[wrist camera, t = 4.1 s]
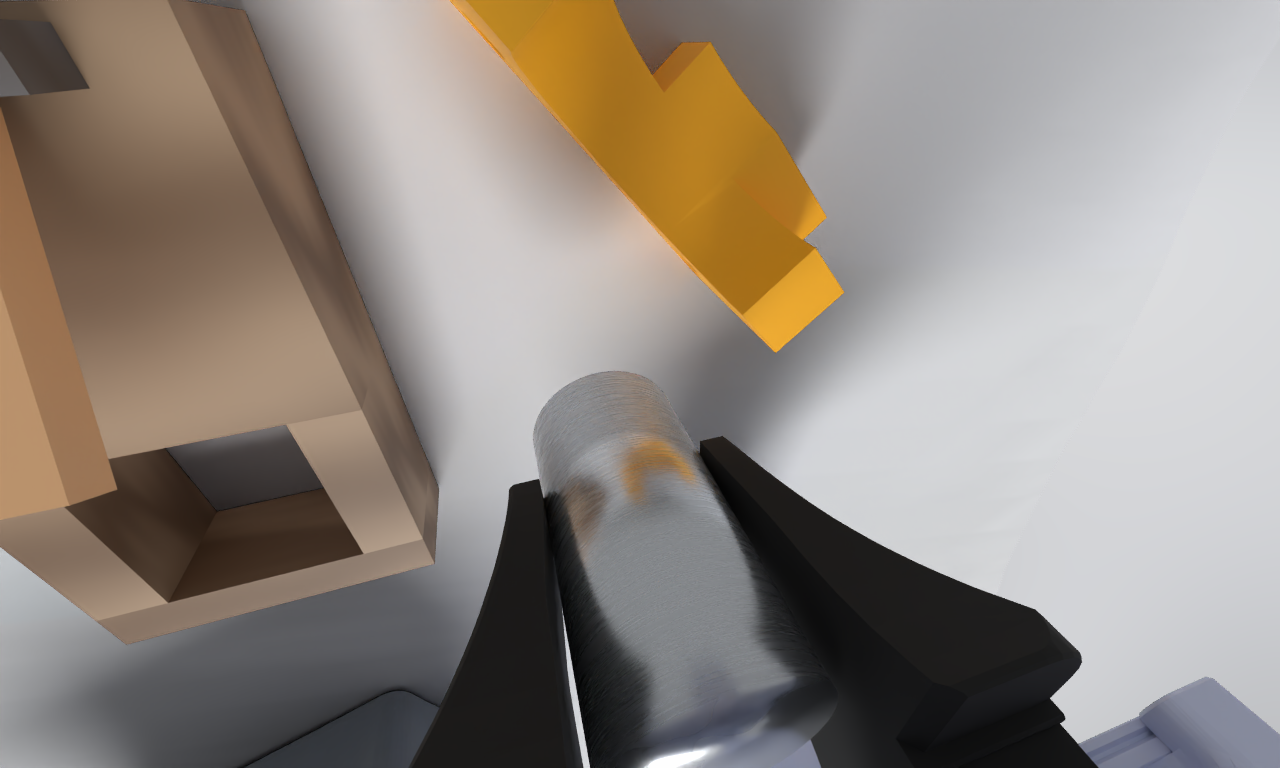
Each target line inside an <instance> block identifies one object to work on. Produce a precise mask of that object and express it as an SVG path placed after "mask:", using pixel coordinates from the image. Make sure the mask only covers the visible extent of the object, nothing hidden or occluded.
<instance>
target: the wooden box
mask: <svg viewBox="0 0 1280 768" xmlns="http://www.w3.org/2000/svg"><path fill="white" fill-rule="evenodd" d="M0 107H1V110H2V113H3V117H4V120H5V123H6V126H7V130H8V133H9V136H10V139H11V143H12V146H13V149H14V153H15V156H16V159H17V162H18V166H19V169H20V172H21V175H22V179H23V182H24V185H25V189H26V192H27V195H28V198H29V202H30V205H31V208H32V211H33V215H34V218H35V221H36V225H37V228H38V231H39V234H40V238H41V241H42V244H43V247H44V251H45V254H46V257H47V261H48V264H49V267H50V270H51V274H52V277H53V280H54V283H55V287H56V290H57V293H58V297H59V300H60V303H61V306H62V310H63V313H64V316H65V319H66V323H67V326H68V329H69V333H70V336H71V339H72V342H73V346H74V349H75V352H76V355H77V359H78V362H79V365H80V369H81V372H82V375H83V378H84V382H85V385H86V388H87V391H88V395H89V398H90V401H91V405H92V408H93V411H94V414H95V418H96V421H97V424H98V427H99V431H100V434H101V437H102V441H103V444H104V447H105V450H106V454H107V457H108V460H109V463H110V467H111V470H112V473H113V477H114V480H115V483H116V486H117V490H114V491H111V492H108V493H105V494H102V495H99V496H97V497H94V498H91V499H88V500H85V501H82V502H79V503H76V504H73V505H70V506H65V507H60V508H56V509H51V510H46V511H41V512H36V513H31V514H27V515H22V516H17V517H12V518H7V519H2V520H0V547H1V548H2V549H4V550H5V551H6V552H7V553H9V554H10V555H11V556H13V557H14V558H15V559H17V560H18V561H19V562H20V563H22V564H23V565H24V566H26V567H27V568H28V569H29V570H31V571H32V572H33V573H35V574H36V575H37V576H38V577H40V578H41V579H42V580H44V581H45V582H46V583H48V584H49V585H50V586H51V587H53V588H54V589H55V590H57V591H58V592H59V593H60V594H62V595H63V596H64V597H66V598H67V599H68V600H69V601H71V602H72V603H73V604H75V605H76V606H77V607H78V608H80V609H81V610H82V611H84V612H85V613H86V614H88V615H89V616H90V617H91V618H93V619H94V620H95V621H97V622H98V623H99V624H100V625H102V626H103V627H104V628H106V629H107V630H108V631H109V632H111V633H112V634H113V635H115V636H116V637H117V638H118V639H120V640H121V641H122V642H124V643H125V644H126V645H127V644H131V643H134V642H138V641H142V640H146V639H150V638H154V637H157V636H161V635H165V634H169V633H173V632H176V631H180V630H184V629H188V628H192V627H196V626H199V625H203V624H207V623H211V622H215V621H218V620H222V619H226V618H230V617H234V616H238V615H241V614H245V613H249V612H253V611H257V610H260V609H264V608H268V607H272V606H276V605H279V604H283V603H287V602H291V601H295V600H299V599H302V598H306V597H310V596H314V595H318V594H321V593H325V592H329V591H333V590H337V589H341V588H344V587H348V586H352V585H356V584H360V583H363V582H367V581H371V580H375V579H379V578H383V577H386V576H390V575H394V574H398V573H402V572H405V571H409V570H413V569H417V568H421V567H425V566H428V565H432V564H435V549H436V532H437V515H438V498H439V488H438V485H437V483H436V480H435V478H434V475H433V473H432V470H431V468H430V466H429V463H428V461H427V458H426V456H425V453H424V451H423V448H422V446H421V443H420V441H419V438H418V436H417V433H416V431H415V429H414V426H413V424H412V421H411V419H410V416H409V414H408V411H407V409H406V406H405V404H404V401H403V399H402V397H401V394H400V392H399V389H398V387H397V384H396V382H395V379H394V377H393V374H392V372H391V369H390V367H389V364H388V362H387V360H386V357H385V355H384V352H383V350H382V347H381V345H380V342H379V340H378V337H377V335H376V332H375V330H374V328H373V325H372V323H371V320H370V318H369V315H368V313H367V310H366V308H365V305H364V303H363V300H362V298H361V295H360V293H359V291H358V288H357V286H356V283H355V281H354V278H353V276H352V273H351V271H350V268H349V266H348V263H347V261H346V259H345V256H344V254H343V251H342V249H341V246H340V244H339V241H338V239H337V236H336V234H335V231H334V229H333V226H332V224H331V222H330V219H329V217H328V214H327V212H326V209H325V207H324V204H323V202H322V199H321V197H320V194H319V192H318V190H317V187H316V185H315V182H314V180H313V177H312V175H311V172H310V170H309V167H308V165H307V162H306V160H305V157H304V155H303V153H302V150H301V148H300V145H299V143H298V140H297V138H296V135H295V133H294V130H293V128H292V125H291V123H290V121H289V118H288V116H287V113H286V111H285V108H284V106H283V103H282V101H281V98H280V96H279V93H278V91H277V88H276V86H275V84H274V81H273V79H272V76H271V74H270V71H269V69H268V66H267V64H266V61H265V59H264V56H263V54H262V52H261V49H260V47H259V44H258V42H257V39H256V37H255V34H254V32H253V29H252V27H251V24H250V22H249V19H248V17H247V15H246V12H245V11H244V10H239V9H233V8H227V7H221V6H215V5H209V4H203V3H198V2H192V1H186V0H33V1H0ZM282 425H286V426H287V427H288V429H289V431H290V432H291V434H292V436H293V437H294V439H295V440H296V442H297V444H298V445H299V447H300V449H301V450H302V452H303V454H304V455H305V457H306V459H307V460H308V462H309V464H310V465H311V467H312V469H313V470H314V472H315V474H316V475H317V477H318V479H319V480H320V482H321V484H322V485H323V487H324V488H322V489H318V490H313V491H309V492H304V493H300V494H295V495H291V496H286V497H282V498H277V499H273V500H268V501H264V502H259V503H255V504H250V505H245V506H241V507H236V508H232V509H227V510H223V511H218V512H217V511H216V510H215V509H214V508H213V506H212V505H211V504H210V503H209V502H208V500H207V499H206V498H205V497H204V495H203V494H202V493H201V492H200V491H199V489H198V488H197V487H196V486H195V484H194V483H193V482H192V481H191V480H190V478H189V477H188V476H187V475H186V474H185V472H184V471H183V470H182V469H181V467H180V466H179V465H178V464H177V463H176V461H175V460H174V459H173V458H172V456H171V455H170V454H169V453H168V452H167V450H166V449H165V448H168V447H173V446H178V445H184V444H189V443H194V442H199V441H204V440H209V439H215V438H220V437H225V436H230V435H235V434H241V433H246V432H251V431H256V430H261V429H266V428H272V427H277V426H282Z"/></svg>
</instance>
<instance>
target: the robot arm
mask: <svg viewBox="0 0 1280 768" xmlns="http://www.w3.org/2000/svg"><path fill="white" fill-rule="evenodd" d="M700 456H701V458H702V459H703V461H704V463H705V464H706V466H707V468H708V470H709V471H710V473H711V475H712V476H713V478H714V480H715V482H716V483H717V485H718V487H719V488H720V490H721V492H722V494H723V495H724V497H725V499H726V500H727V502H728V504H729V506H730V507H731V509H732V511H733V513H734V514H735V516H736V518H737V519H738V521H739V523H740V525H741V526H742V528H743V530H744V531H745V533H746V535H747V537H748V538H749V540H750V542H751V543H752V545H753V547H754V549H755V550H756V552H757V554H758V555H759V557H760V559H761V561H762V562H763V564H764V566H765V568H766V569H767V571H768V573H769V574H770V576H771V578H772V580H773V581H774V583H775V585H776V586H777V588H778V590H779V592H780V593H781V595H782V597H783V598H784V600H785V602H786V604H787V605H788V607H789V609H790V611H791V612H792V614H793V616H794V617H795V619H796V621H797V623H798V624H799V626H800V628H801V629H802V631H803V633H804V635H805V636H806V638H807V640H808V641H809V643H810V645H811V647H812V648H813V650H814V652H815V653H816V655H817V657H818V659H819V660H820V662H821V664H822V666H823V667H824V669H825V671H826V672H827V674H828V676H829V678H830V679H831V681H832V683H833V684H834V686H835V688H836V690H837V693H838V703H837V706H836V709H835V711H834V713H833V714H832V716H831V717H830V719H829V720H828V721H827V723H826V724H825V725H824V726H823V727H822V728H821V730H820V731H819V732H818V733H817V734H816V735H814V736H813V737H812V738H811V739H810V740H809V741H808V742H807V743H805V744H804V745H803V746H802V747H800V748H799V749H798V750H796V751H795V752H794V753H792V754H791V755H790V756H788V757H787V758H785V759H784V760H782V761H781V762H779V763H778V764H776V765H774V766H773V767H771V768H1280V734H1278V733H1277V732H1276V731H1275V730H1274V729H1272V728H1271V727H1270V726H1269V725H1268V724H1266V723H1265V722H1264V721H1263V720H1262V719H1261V718H1259V717H1258V716H1257V715H1256V714H1255V713H1253V712H1252V711H1251V710H1250V709H1249V708H1247V707H1246V706H1245V705H1244V704H1243V703H1242V702H1240V701H1239V700H1238V699H1237V698H1236V697H1234V696H1233V695H1232V694H1231V693H1230V692H1229V691H1227V690H1226V689H1225V688H1224V687H1223V686H1221V685H1220V684H1219V683H1217V681H1215V680H1214V679H1213V678H1209V677H1204V678H1202V679H1200V680H1198V681H1195V682H1193V683H1191V684H1188V685H1186V686H1184V687H1182V688H1180V689H1177V690H1175V691H1173V692H1171V693H1169V694H1167V695H1165V696H1163V697H1161V698H1160V699H1158V700H1156V701H1155V702H1153V703H1152V704H1150V705H1149V706H1148V707H1146V708H1145V709H1144V710H1143V711H1141V712H1140V714H1139V717H1136V718H1134V719H1132V720H1130V721H1127V722H1125V723H1123V724H1121V725H1119V726H1116V727H1114V728H1112V729H1110V730H1108V731H1106V732H1103V733H1101V734H1099V735H1097V736H1095V737H1092V738H1090V739H1088V740H1086V741H1084V742H1082V743H1079V744H1077V743H1076V741H1075V740H1074V739H1073V738H1072V737H1071V736H1070V735H1069V733H1067V731H1066V730H1065V729H1064V728H1063V727H1062V726H1061V724H1060V723H1062V722H1063V721H1064V720H1065V716H1064V714H1063V712H1062V711H1061V710H1060V709H1059V708H1058V707H1057V706H1056V705H1055V704H1054V703H1053V701H1051V699H1050V697H1052V695H1054V693H1055V692H1057V691H1058V690H1059V689H1060V688H1061V687H1062V686H1063V685H1064V684H1065V683H1066V682H1067V681H1068V680H1069V679H1070V678H1071V677H1072V676H1073V674H1074V673H1075V672H1076V671H1077V670H1078V669H1079V667H1080V665H1081V663H1082V660H1081V654H1080V652H1079V651H1078V650H1076V648H1075V647H1074V646H1073V645H1072V644H1071V643H1070V642H1068V641H1067V640H1066V639H1065V638H1064V637H1063V636H1062V635H1061V634H1060V633H1059V632H1058V631H1057V630H1056V629H1055V628H1054V627H1053V626H1052V625H1051V624H1050V623H1049V622H1048V621H1047V620H1046V619H1045V618H1044V617H1043V616H1042V615H1041V614H1040V613H1038V612H1037V611H1036V610H1035V609H1032V608H1029V607H1027V606H1024V605H1021V604H1018V603H1016V602H1013V601H1010V600H1007V599H1005V598H1002V597H999V596H996V595H993V594H991V593H988V592H985V591H982V590H980V589H977V588H974V587H972V586H969V585H967V584H965V583H962V582H960V581H957V580H955V579H953V578H950V577H948V576H945V575H943V574H941V573H938V572H936V571H934V570H932V569H929V568H927V567H925V566H923V565H921V564H918V563H916V562H914V561H912V560H910V559H908V558H906V557H904V556H902V555H900V554H898V553H896V552H894V551H892V550H890V549H888V548H886V547H884V546H882V545H880V544H878V543H876V542H874V541H872V540H871V539H869V538H867V537H865V536H863V535H862V534H860V533H858V532H856V531H855V530H853V529H851V528H849V527H848V526H846V525H844V524H842V523H841V522H839V521H838V520H836V519H834V518H833V517H831V516H830V515H828V514H826V513H825V512H823V511H822V510H820V509H819V508H817V507H816V506H814V505H813V504H811V503H810V502H808V501H807V500H805V499H804V498H803V497H801V496H800V495H798V494H797V493H796V492H794V491H793V490H791V489H790V488H789V487H787V486H786V485H785V484H783V483H782V482H781V481H779V480H778V479H777V478H775V477H774V476H773V475H771V474H770V473H769V472H767V471H766V470H765V469H763V468H762V467H761V466H760V465H758V464H757V463H756V462H755V461H753V460H752V459H751V458H750V457H748V456H747V455H746V454H745V453H743V452H742V451H741V450H740V449H738V448H737V447H736V446H735V445H733V444H732V443H731V442H730V441H728V440H727V439H726V438H724V437H723V436H721V437H717V438H712V439H708V440H704V441H700ZM409 768H583V763H582V757H581V752H580V746H579V740H578V734H577V729H576V723H575V717H574V711H573V705H572V699H571V694H570V687H569V679H568V671H567V660H566V648H565V637H564V625H563V614H562V603H561V597H560V592H559V586H558V580H557V574H556V569H555V563H554V557H553V552H552V546H551V539H550V532H549V526H548V521H547V515H546V509H545V504H544V498H543V494H542V489H541V485H540V480H539V479H537V480H532V481H528V482H524V483H519V484H515V485H513V486H512V487H511V488H510V489H509V500H508V508H507V515H506V521H505V526H504V530H503V535H502V540H501V544H500V547H499V551H498V555H497V559H496V563H495V567H494V570H493V574H492V577H491V580H490V583H489V586H488V589H487V592H486V596H485V599H484V602H483V605H482V608H481V611H480V614H479V616H478V619H477V622H476V624H475V627H474V630H473V632H472V635H471V637H470V640H469V642H468V645H467V647H466V650H465V652H464V655H463V657H462V659H461V662H460V664H459V666H458V668H457V671H456V673H455V675H454V677H453V680H452V682H451V684H450V686H449V689H448V691H447V693H446V695H445V697H444V699H443V701H442V703H441V706H440V708H439V710H438V712H437V714H436V716H435V718H434V720H433V722H432V724H431V725H430V727H429V729H428V731H427V733H426V735H425V737H424V739H423V741H422V743H421V745H420V747H419V748H418V750H417V752H416V754H415V756H414V758H413V760H412V762H411V764H410V766H409Z"/></svg>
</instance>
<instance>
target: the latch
mask: <svg viewBox="0 0 1280 768" xmlns="http://www.w3.org/2000/svg"><path fill="white" fill-rule="evenodd" d="M114 490H117V486H116V483H115V480H114V477H113V473H112V470H111V467H110V463H109V460H108V457H107V454H106V450H105V447H104V444H103V441H102V437H101V434H100V431H99V427H98V424H97V421H96V418H95V414H94V411H93V408H92V405H91V401H90V398H89V395H88V391H87V388H86V385H85V382H84V378H83V375H82V372H81V369H80V365H79V362H78V359H77V355H76V352H75V349H74V346H73V342H72V339H71V336H70V333H69V329H68V326H67V323H66V319H65V316H64V313H63V310H62V306H61V303H60V300H59V297H58V293H57V290H56V287H55V283H54V280H53V277H52V274H51V270H50V267H49V264H48V261H47V257H46V254H45V251H44V247H43V244H42V241H41V238H40V234H39V231H38V228H37V225H36V221H35V218H34V215H33V211H32V208H31V205H30V202H29V198H28V195H27V192H26V189H25V185H24V182H23V179H22V175H21V172H20V169H19V166H18V162H17V159H16V156H15V153H14V149H13V146H12V143H11V139H10V136H9V133H8V130H7V126H6V123H5V120H4V117H3V113H2V110H1V107H0V520H2V519H7V518H12V517H17V516H22V515H27V514H31V513H36V512H41V511H46V510H51V509H56V508H60V507H65V506H70V505H73V504H76V503H79V502H82V501H85V500H88V499H91V498H94V497H97V496H99V495H102V494H105V493H108V492H111V491H114Z"/></svg>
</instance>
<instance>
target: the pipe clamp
mask: <svg viewBox="0 0 1280 768" xmlns="http://www.w3.org/2000/svg"><path fill="white" fill-rule="evenodd" d="M450 2H451V3H452V4H453V5H454V6H455V7H456V8H457V9H458V11H459V12H460V13H461V14H462V15H463V16H464V17H465V18H466V19H467V21H468V22H469V23H470V24H471V25H472V26H473V27H474V28H475V29H476V31H477V32H478V33H479V34H480V35H481V36H482V37H483V38H484V39H485V41H486V42H487V43H488V44H489V45H490V46H491V47H492V48H493V49H494V51H495V52H496V53H497V54H498V55H499V56H500V57H501V58H502V59H503V61H504V62H505V63H506V64H507V65H508V66H509V67H510V68H511V69H512V71H513V72H514V73H515V74H516V75H517V76H518V77H519V78H520V79H521V81H522V82H523V83H524V84H525V85H526V86H527V87H528V88H529V90H530V91H531V92H532V93H533V94H534V95H535V96H536V97H537V98H538V100H539V101H540V102H541V103H542V104H543V105H544V106H545V107H546V108H547V110H548V111H549V112H550V113H551V114H552V115H553V116H554V117H555V118H556V120H557V121H558V122H559V123H560V124H561V125H562V126H563V127H564V128H565V130H566V131H567V132H568V133H569V134H570V135H571V136H572V137H573V138H574V140H575V141H576V142H577V143H578V144H579V145H580V146H581V147H582V148H583V150H584V151H585V152H586V153H587V154H588V155H589V156H590V157H591V158H592V160H593V161H594V162H595V163H596V164H597V165H598V166H599V167H600V169H601V170H602V171H603V172H604V173H605V174H606V175H607V176H608V177H609V179H610V180H611V181H612V182H613V183H614V184H615V185H616V186H617V187H618V189H619V190H620V191H621V192H622V193H623V194H624V195H625V196H626V197H627V199H628V200H629V201H630V202H631V203H632V204H633V205H634V206H635V207H636V209H637V210H638V211H639V212H640V213H641V214H642V215H643V216H644V217H645V219H646V220H647V221H648V222H649V223H650V224H651V225H652V226H653V227H654V229H655V230H656V231H657V232H658V233H659V234H660V235H661V236H662V237H663V239H664V240H665V241H666V242H667V243H668V244H669V245H670V246H671V248H672V249H673V250H674V251H675V252H676V253H677V254H678V255H679V256H680V258H681V259H682V260H683V261H684V262H685V263H686V264H687V265H688V266H689V268H690V269H691V270H692V271H693V272H694V273H695V274H696V275H697V276H698V277H699V278H700V279H701V280H702V281H703V282H704V283H705V284H706V285H707V286H708V287H709V288H710V289H711V290H712V291H713V292H714V293H715V294H716V295H717V296H718V297H719V298H720V299H721V300H722V301H723V302H724V303H725V304H726V305H727V306H728V307H729V308H730V309H731V310H732V311H733V312H734V313H735V314H736V315H737V316H738V317H739V318H740V319H741V320H742V321H743V322H745V323H746V324H747V325H748V326H749V327H750V328H751V329H752V330H753V331H754V332H755V333H756V334H757V335H758V336H759V337H760V338H761V339H762V340H763V341H764V342H765V343H766V344H767V345H768V346H769V347H770V348H771V349H772V350H773V351H774V352H775V353H776V352H777V351H779V350H780V349H781V348H782V347H783V346H784V345H785V344H786V343H788V342H789V341H790V340H791V339H792V338H793V337H794V336H796V335H797V334H798V333H799V332H800V331H801V330H802V329H803V328H805V327H806V326H807V325H808V324H809V323H810V322H811V321H813V320H814V319H815V318H816V317H817V316H818V315H819V314H820V313H822V312H823V311H824V310H825V309H826V308H827V307H828V306H830V305H831V304H832V303H833V302H834V301H835V300H836V299H837V298H839V297H840V296H841V295H842V294H843V293H844V291H843V290H842V288H841V287H840V285H839V283H838V282H837V280H836V279H835V277H834V276H833V274H832V273H831V271H830V269H829V268H828V266H827V265H826V263H825V262H824V260H823V259H822V257H821V255H820V254H819V252H818V251H817V249H816V248H815V247H813V246H812V245H810V244H808V243H807V242H805V241H804V240H803V239H804V238H805V237H806V236H808V235H809V234H810V233H811V232H812V231H813V230H814V229H815V228H816V227H817V226H818V225H819V224H820V223H822V222H823V221H824V220H825V219H826V218H827V217H826V215H825V213H824V212H823V210H822V208H821V207H820V205H819V203H818V202H817V200H816V198H815V196H814V195H813V193H812V191H811V190H810V188H809V186H808V185H807V183H806V181H805V179H804V178H803V176H802V174H801V173H800V171H799V169H798V168H797V166H796V164H795V163H794V161H793V159H792V157H791V156H790V154H789V152H788V151H787V149H786V147H785V146H784V144H783V142H782V141H781V139H780V137H779V135H778V134H777V132H776V131H775V130H774V129H773V128H772V127H771V126H770V125H769V123H768V122H767V121H766V120H765V119H764V118H763V117H762V115H761V114H760V113H759V112H758V111H757V109H756V108H755V107H754V106H753V104H752V103H751V102H750V101H749V99H748V98H747V97H746V95H745V94H744V93H743V91H742V90H741V89H740V87H739V86H738V84H737V83H736V82H735V80H734V79H733V77H732V76H731V74H730V73H729V71H728V70H727V68H726V67H725V65H724V64H723V62H722V60H721V59H720V57H719V55H718V54H717V52H716V50H715V49H714V47H713V45H712V43H711V42H688V43H681V44H680V45H679V46H678V47H677V48H676V49H675V51H674V52H673V53H672V54H671V55H670V56H669V57H668V58H667V59H666V61H665V62H664V63H663V64H662V65H661V66H660V67H659V68H658V69H657V71H656V72H655V73H654V74H653V75H652V74H651V72H650V71H649V69H648V67H647V66H646V64H645V62H644V61H643V59H642V57H641V56H640V54H639V52H638V50H637V48H636V47H635V45H634V43H633V41H632V39H631V37H630V35H629V33H628V32H627V29H626V27H625V25H624V23H623V21H622V19H621V17H620V14H619V12H618V10H617V7H616V5H615V2H614V0H450Z"/></svg>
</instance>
